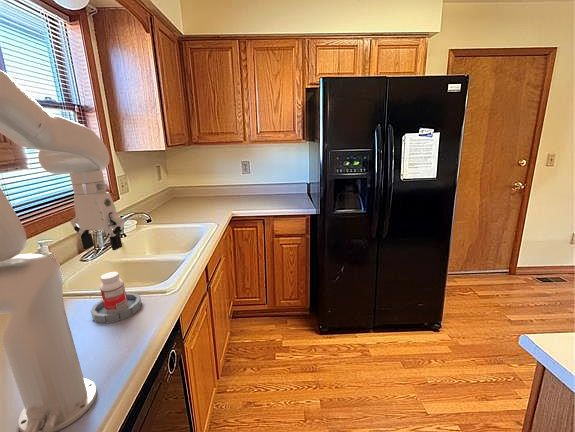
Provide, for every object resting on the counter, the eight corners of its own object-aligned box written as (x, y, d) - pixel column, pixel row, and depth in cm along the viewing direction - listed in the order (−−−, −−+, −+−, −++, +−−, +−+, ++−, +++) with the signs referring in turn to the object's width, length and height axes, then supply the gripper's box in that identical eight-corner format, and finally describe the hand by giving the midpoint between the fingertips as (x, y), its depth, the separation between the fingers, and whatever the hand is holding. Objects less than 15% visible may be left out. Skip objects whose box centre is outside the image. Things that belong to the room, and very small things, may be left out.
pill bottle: (111, 304, 100) (103, 271, 97) (131, 302, 100) (124, 269, 97) (102, 315, 94) (93, 280, 91) (123, 313, 94) (115, 278, 91)
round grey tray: (138, 316, 93) (136, 309, 92) (87, 326, 89) (85, 320, 89) (143, 295, 105) (142, 289, 104) (99, 304, 101) (97, 297, 101)
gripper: (126, 185, 89) (137, 244, 93) (75, 187, 93) (88, 243, 97) (105, 190, 82) (119, 253, 86) (52, 192, 86) (67, 252, 90)
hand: (103, 248), depth 91 cm, fingers open, 9 cm apart
